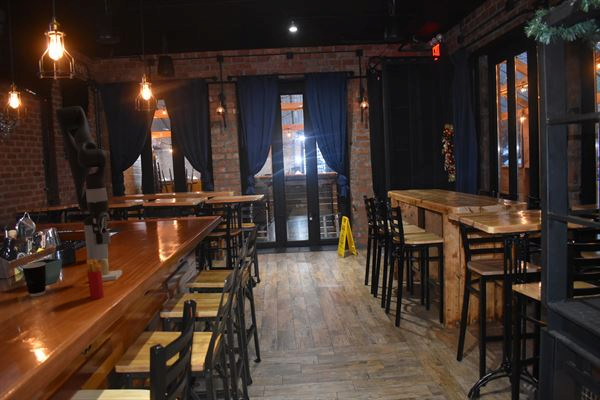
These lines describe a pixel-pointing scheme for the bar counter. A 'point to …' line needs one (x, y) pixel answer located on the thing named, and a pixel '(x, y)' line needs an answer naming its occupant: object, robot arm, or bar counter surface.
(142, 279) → the bar counter surface
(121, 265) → the bar counter surface
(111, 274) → the stand
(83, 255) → the bar counter surface
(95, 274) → the french fries
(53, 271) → the flower pot
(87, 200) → the robot arm
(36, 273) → the dixie cup
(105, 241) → the ring
